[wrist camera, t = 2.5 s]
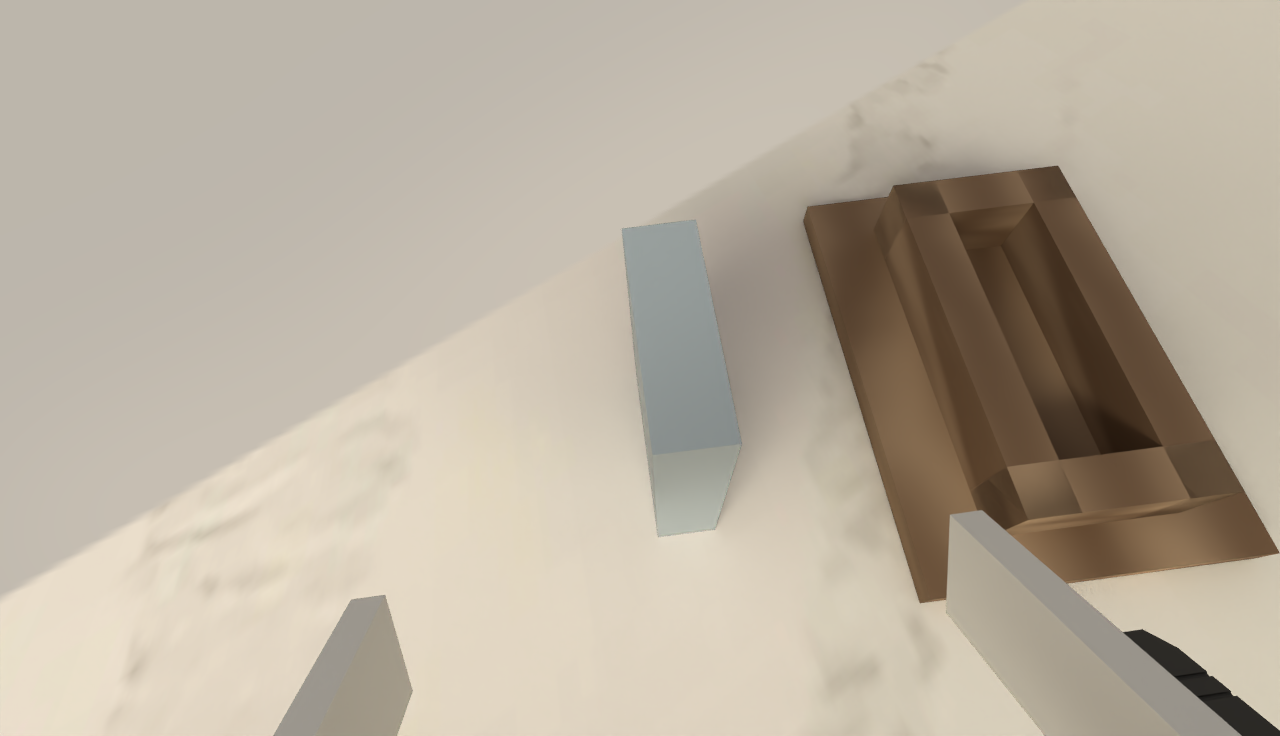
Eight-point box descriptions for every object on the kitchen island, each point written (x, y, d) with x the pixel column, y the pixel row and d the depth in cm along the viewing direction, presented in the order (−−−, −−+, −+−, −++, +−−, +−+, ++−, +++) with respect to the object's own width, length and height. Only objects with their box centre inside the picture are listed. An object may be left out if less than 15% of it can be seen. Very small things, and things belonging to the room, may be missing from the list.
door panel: (686, 367, 31) (695, 219, 21) (714, 529, 27) (741, 443, 17) (636, 373, 31) (621, 228, 21) (657, 537, 27) (652, 455, 17)
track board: (1051, 191, 35) (1100, 128, 31) (1254, 558, 26) (1360, 536, 22) (803, 221, 34) (820, 162, 30) (919, 603, 25) (965, 589, 21)
